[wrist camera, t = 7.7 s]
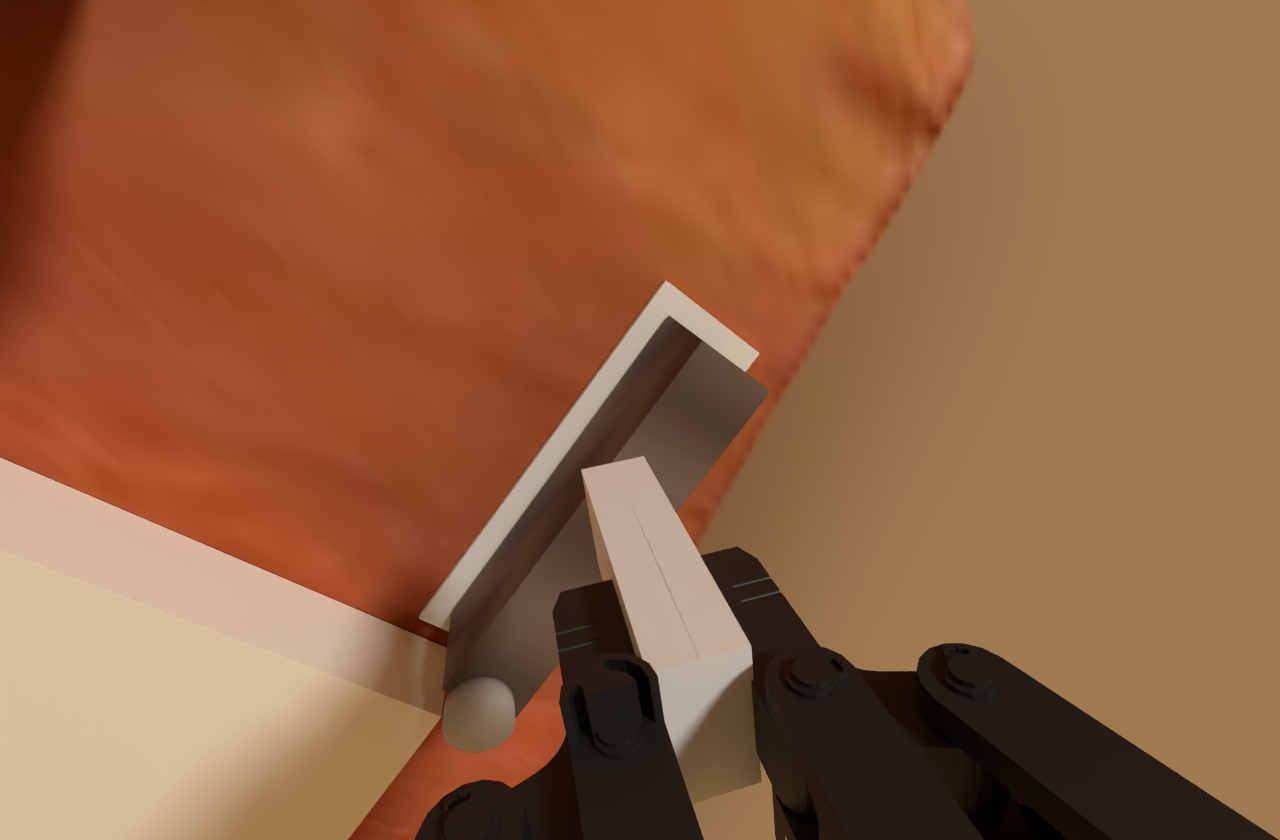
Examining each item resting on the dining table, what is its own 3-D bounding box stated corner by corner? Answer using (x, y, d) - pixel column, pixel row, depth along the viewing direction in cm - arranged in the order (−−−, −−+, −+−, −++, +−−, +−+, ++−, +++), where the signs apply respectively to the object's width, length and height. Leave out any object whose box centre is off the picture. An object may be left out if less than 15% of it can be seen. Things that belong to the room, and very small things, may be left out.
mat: (419, 614, 28) (418, 618, 27) (664, 279, 25) (666, 280, 24) (519, 658, 29) (519, 662, 29) (757, 351, 27) (759, 353, 26)
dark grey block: (497, 662, 29) (497, 763, 24) (434, 635, 27) (420, 736, 22) (727, 358, 26) (782, 399, 21) (668, 314, 25) (712, 347, 20)
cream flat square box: (-287, 828, 24) (-427, 942, 21) (-75, 425, 21) (-196, 475, 17) (233, 936, 32) (199, 1034, 28) (449, 648, 28) (441, 716, 25)
